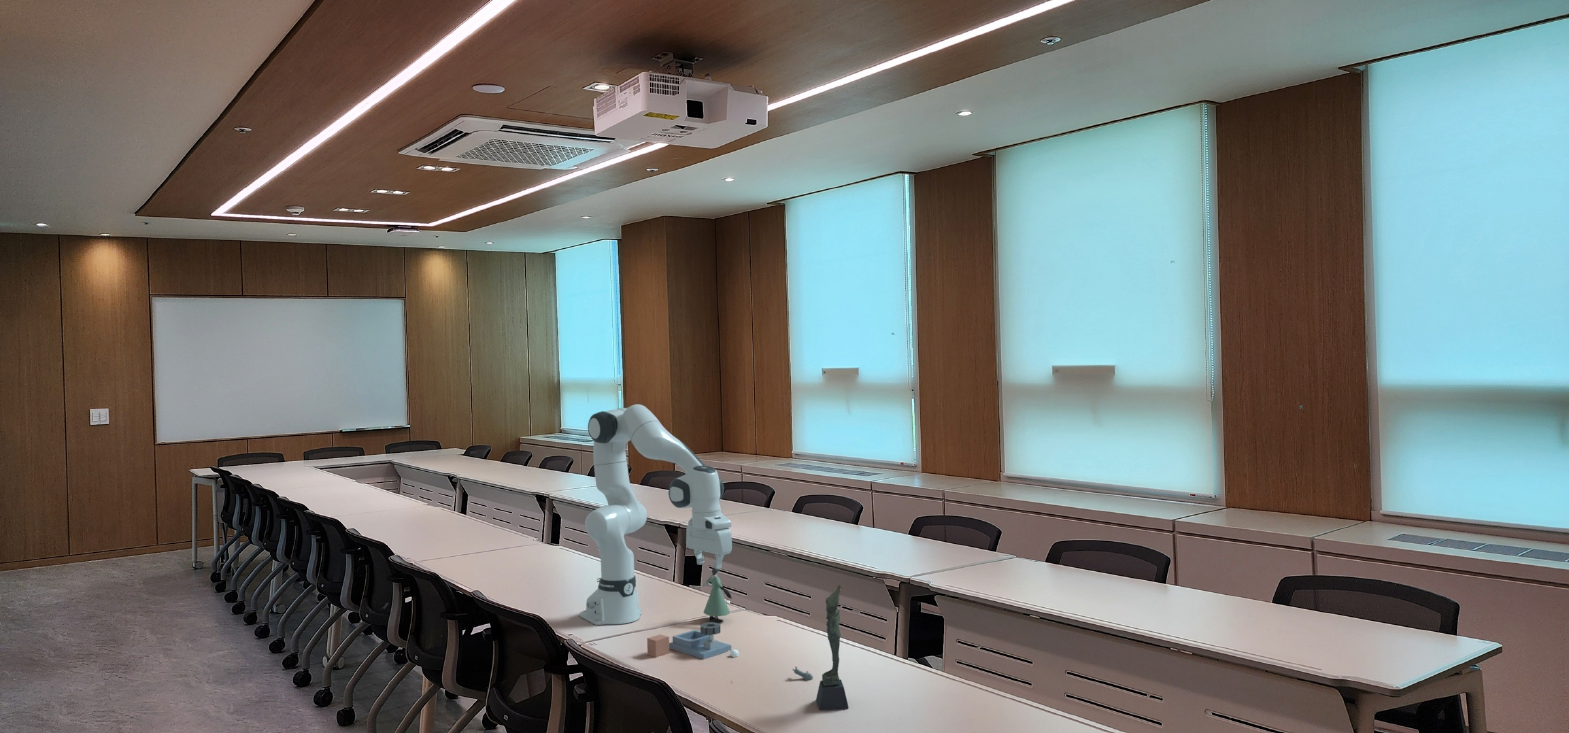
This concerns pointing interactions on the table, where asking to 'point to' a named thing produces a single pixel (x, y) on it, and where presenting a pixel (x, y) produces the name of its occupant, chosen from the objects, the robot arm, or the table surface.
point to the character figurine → (716, 598)
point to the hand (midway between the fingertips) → (709, 566)
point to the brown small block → (658, 645)
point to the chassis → (698, 644)
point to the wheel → (710, 628)
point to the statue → (830, 685)
